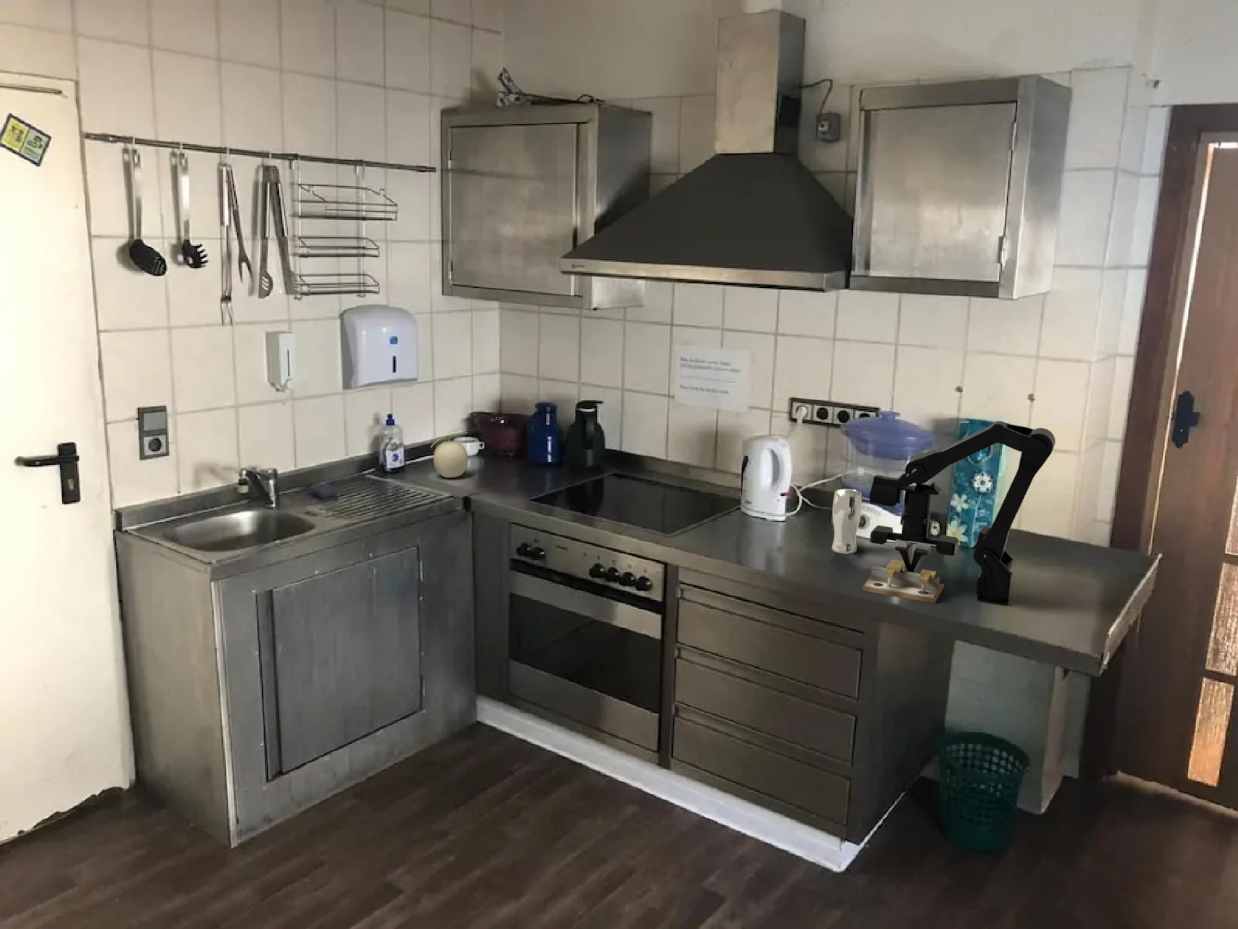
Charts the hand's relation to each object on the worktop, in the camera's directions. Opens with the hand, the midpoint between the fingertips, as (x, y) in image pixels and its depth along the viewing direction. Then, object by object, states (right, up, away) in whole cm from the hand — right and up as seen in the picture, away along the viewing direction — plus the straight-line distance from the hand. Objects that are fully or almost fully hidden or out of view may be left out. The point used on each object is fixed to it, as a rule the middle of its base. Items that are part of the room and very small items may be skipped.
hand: (910, 575), depth 234 cm
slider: (-4, -1, -1) cm, 5 cm away
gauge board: (-2, -3, -2) cm, 4 cm away
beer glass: (-10, +4, +23) cm, 26 cm away
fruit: (-119, +21, +86) cm, 149 cm away
